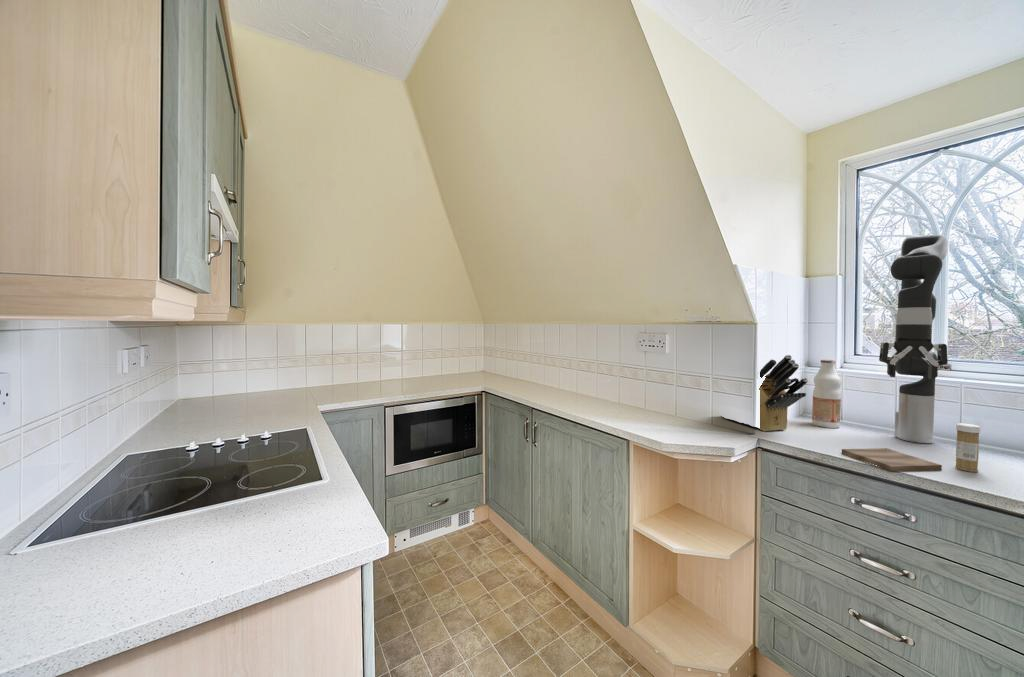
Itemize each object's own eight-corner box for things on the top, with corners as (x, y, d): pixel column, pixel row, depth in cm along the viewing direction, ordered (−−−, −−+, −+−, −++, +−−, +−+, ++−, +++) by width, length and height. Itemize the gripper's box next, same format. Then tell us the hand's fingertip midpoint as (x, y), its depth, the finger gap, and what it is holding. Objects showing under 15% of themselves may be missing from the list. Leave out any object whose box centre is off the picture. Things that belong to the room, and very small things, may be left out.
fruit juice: (817, 427, 165) (820, 360, 164) (807, 422, 174) (809, 358, 173) (844, 429, 162) (847, 361, 161) (833, 423, 171) (835, 359, 170)
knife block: (784, 439, 148) (786, 356, 147) (716, 417, 182) (718, 350, 181) (809, 437, 150) (811, 356, 149) (737, 416, 184) (739, 350, 183)
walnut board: (841, 453, 131) (841, 449, 131) (886, 452, 132) (886, 448, 132) (891, 471, 115) (891, 466, 115) (941, 470, 116) (941, 465, 116)
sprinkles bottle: (979, 470, 116) (981, 425, 116) (976, 473, 114) (978, 427, 113) (956, 465, 120) (958, 421, 120) (953, 468, 118) (955, 423, 117)
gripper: (940, 324, 117) (938, 378, 118) (877, 323, 124) (875, 375, 124) (954, 323, 111) (951, 381, 111) (886, 322, 117) (884, 377, 117)
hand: (911, 378), depth 117 cm, fingers open, 8 cm apart
